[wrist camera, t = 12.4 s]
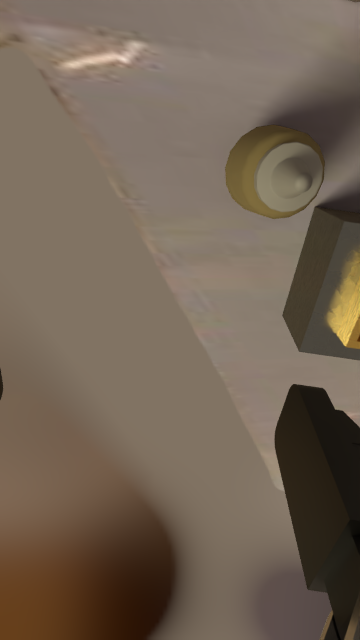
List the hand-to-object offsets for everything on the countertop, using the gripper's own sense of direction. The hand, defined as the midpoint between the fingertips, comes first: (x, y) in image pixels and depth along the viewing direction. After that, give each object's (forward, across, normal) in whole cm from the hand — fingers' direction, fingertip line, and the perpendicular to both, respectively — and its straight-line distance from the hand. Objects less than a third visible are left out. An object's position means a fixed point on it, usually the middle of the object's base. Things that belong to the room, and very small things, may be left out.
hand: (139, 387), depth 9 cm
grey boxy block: (+33, -22, +5) cm, 40 cm away
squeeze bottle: (+33, -7, -5) cm, 34 cm away
